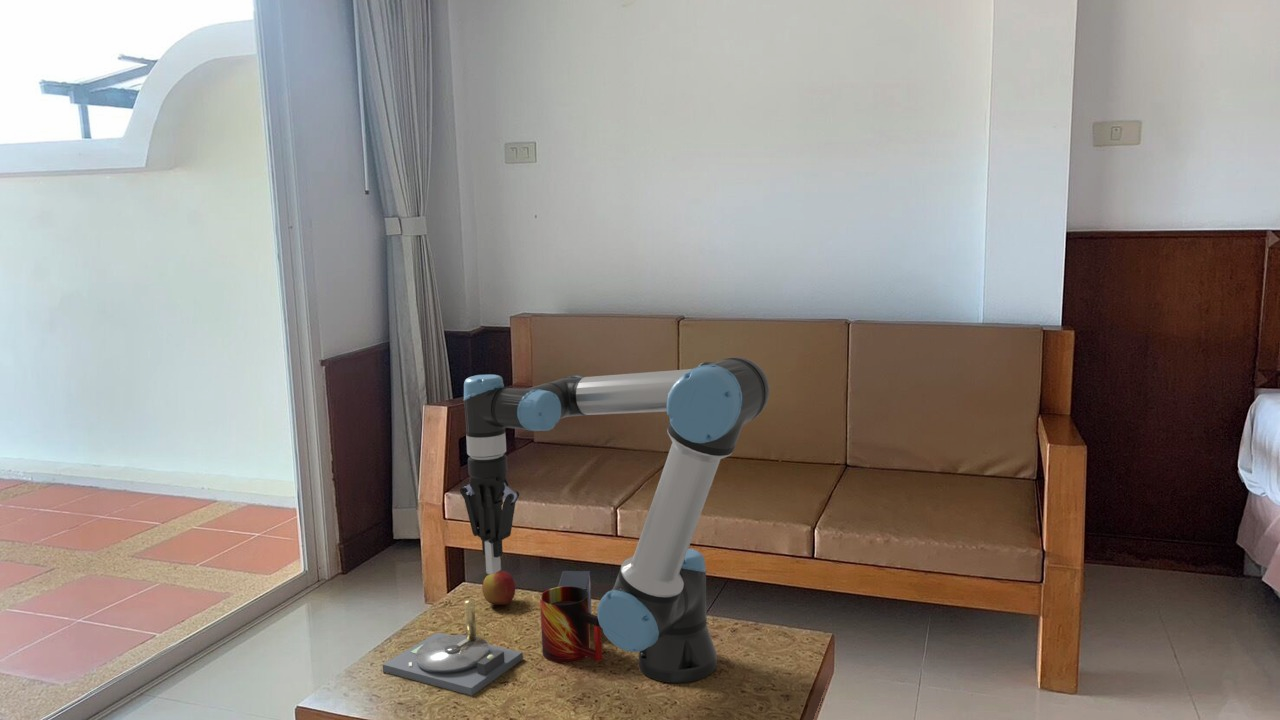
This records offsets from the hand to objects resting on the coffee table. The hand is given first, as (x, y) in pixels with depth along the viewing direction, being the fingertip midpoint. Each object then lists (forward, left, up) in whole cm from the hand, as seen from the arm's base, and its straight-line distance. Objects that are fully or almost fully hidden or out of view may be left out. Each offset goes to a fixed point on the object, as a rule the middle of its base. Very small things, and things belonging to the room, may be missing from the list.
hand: (493, 571), depth 183 cm
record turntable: (+6, +6, -18) cm, 20 cm away
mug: (-13, -9, -19) cm, 24 cm away
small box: (-6, -20, -19) cm, 28 cm away
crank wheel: (+6, +6, -16) cm, 19 cm away
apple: (+16, -22, -19) cm, 33 cm away
